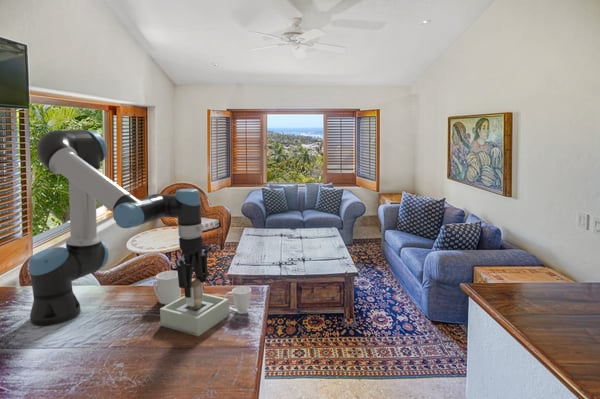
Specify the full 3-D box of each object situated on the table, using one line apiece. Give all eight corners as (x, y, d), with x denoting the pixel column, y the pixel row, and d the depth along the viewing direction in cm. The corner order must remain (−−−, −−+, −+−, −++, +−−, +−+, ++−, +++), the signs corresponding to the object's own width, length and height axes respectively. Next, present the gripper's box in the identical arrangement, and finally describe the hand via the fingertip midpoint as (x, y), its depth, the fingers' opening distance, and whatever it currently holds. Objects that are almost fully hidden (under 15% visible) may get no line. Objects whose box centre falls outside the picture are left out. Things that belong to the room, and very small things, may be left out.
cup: (250, 315, 138) (249, 294, 136) (222, 315, 139) (221, 293, 137) (254, 306, 145) (253, 286, 143) (227, 306, 145) (226, 285, 144)
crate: (161, 325, 132) (159, 308, 131) (194, 306, 146) (193, 291, 145) (198, 336, 125) (197, 318, 124) (229, 315, 139) (228, 298, 138)
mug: (172, 293, 157) (171, 269, 155) (187, 299, 152) (185, 273, 150) (148, 303, 148) (145, 277, 147) (162, 309, 143) (160, 282, 141)
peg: (187, 315, 134) (185, 281, 132) (195, 310, 137) (193, 277, 135) (196, 317, 132) (194, 283, 130) (204, 312, 136) (202, 279, 133)
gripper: (180, 244, 121) (186, 315, 125) (216, 231, 136) (219, 295, 140) (162, 241, 124) (168, 311, 128) (199, 228, 139) (203, 291, 143)
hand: (195, 302), depth 134 cm, fingers closed on peg, 4 cm apart
